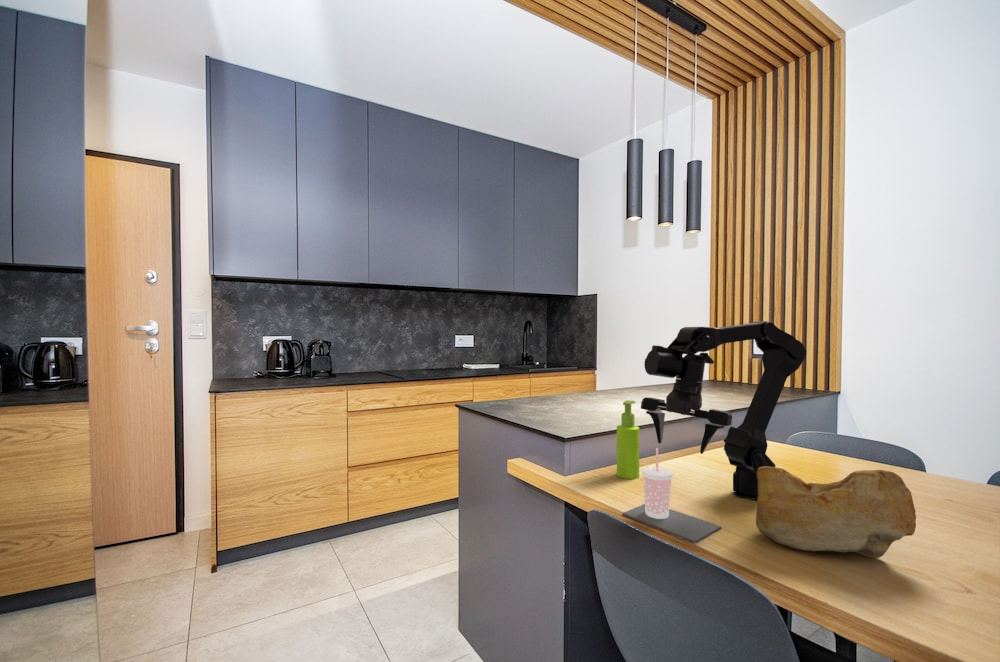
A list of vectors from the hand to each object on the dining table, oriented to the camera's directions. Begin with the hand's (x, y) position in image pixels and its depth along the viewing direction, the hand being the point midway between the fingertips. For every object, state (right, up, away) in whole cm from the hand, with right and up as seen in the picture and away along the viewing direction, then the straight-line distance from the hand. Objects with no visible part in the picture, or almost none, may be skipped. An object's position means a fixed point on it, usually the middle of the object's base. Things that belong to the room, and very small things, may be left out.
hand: (680, 448), depth 101 cm
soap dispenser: (-6, -13, +19) cm, 24 cm away
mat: (-6, -12, -11) cm, 17 cm away
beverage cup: (-8, -12, -8) cm, 17 cm away
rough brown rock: (+19, -13, -19) cm, 30 cm away
